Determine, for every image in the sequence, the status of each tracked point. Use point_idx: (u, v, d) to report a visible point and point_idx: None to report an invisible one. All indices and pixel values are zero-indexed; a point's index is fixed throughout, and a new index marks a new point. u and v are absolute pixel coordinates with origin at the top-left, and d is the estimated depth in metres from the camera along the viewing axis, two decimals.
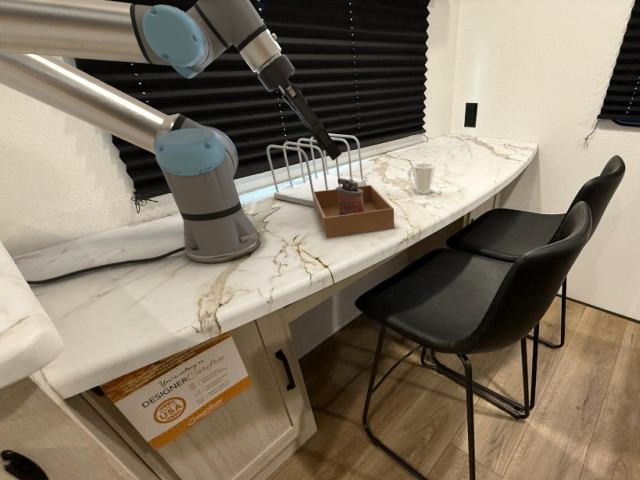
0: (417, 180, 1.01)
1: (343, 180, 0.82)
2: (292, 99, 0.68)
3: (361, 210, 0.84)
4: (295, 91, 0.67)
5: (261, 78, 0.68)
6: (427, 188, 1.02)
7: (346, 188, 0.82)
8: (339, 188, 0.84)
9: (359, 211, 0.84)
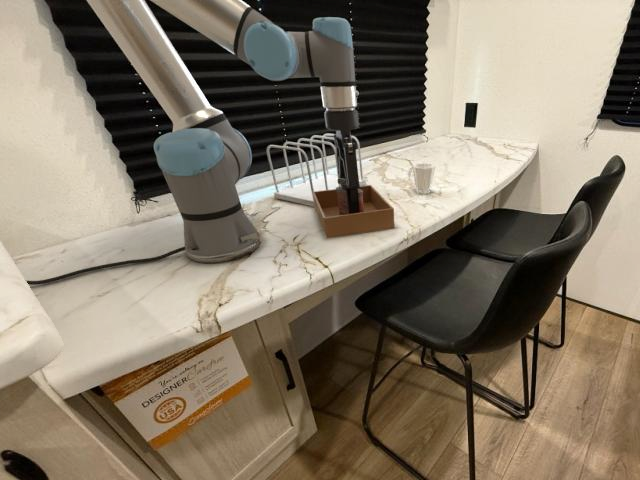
0: (417, 180, 1.01)
1: (343, 180, 0.82)
2: (347, 154, 0.72)
3: (361, 210, 0.84)
4: (353, 150, 0.72)
5: (328, 116, 0.71)
6: (427, 188, 1.02)
7: None
8: (339, 188, 0.84)
9: None
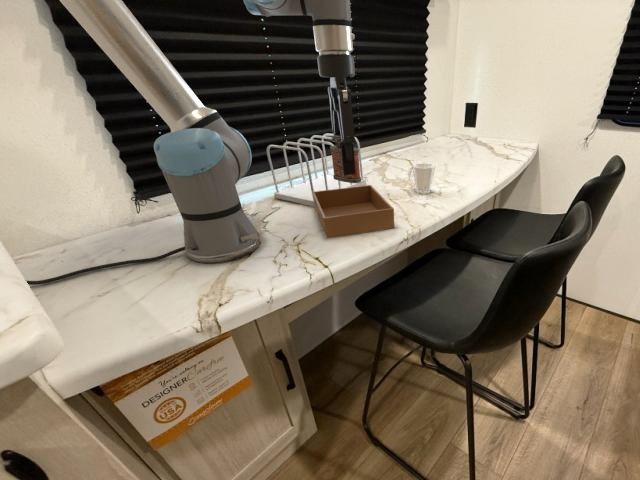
0: (417, 180, 1.01)
1: (338, 137, 0.76)
2: (341, 102, 0.67)
3: (357, 171, 0.78)
4: (348, 98, 0.67)
5: (321, 60, 0.65)
6: (427, 188, 1.02)
7: None
8: (333, 147, 0.78)
9: (355, 172, 0.78)
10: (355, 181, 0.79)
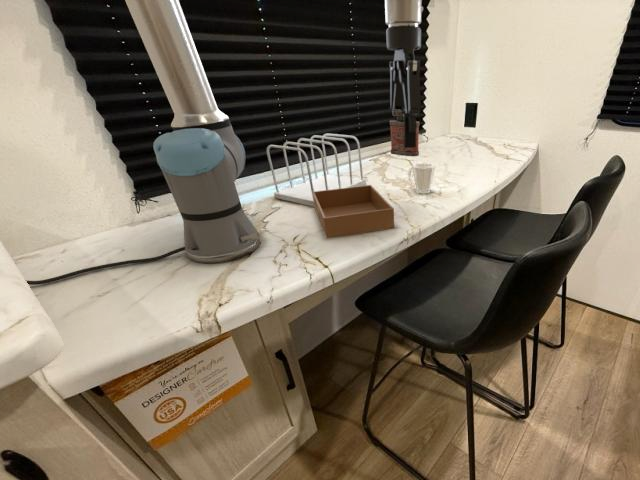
0: (417, 180, 1.01)
1: (399, 111, 0.78)
2: (411, 73, 0.69)
3: (416, 144, 0.80)
4: (417, 69, 0.68)
5: (391, 32, 0.67)
6: (427, 188, 1.02)
7: (402, 119, 0.79)
8: (393, 121, 0.80)
9: None
10: (414, 154, 0.81)
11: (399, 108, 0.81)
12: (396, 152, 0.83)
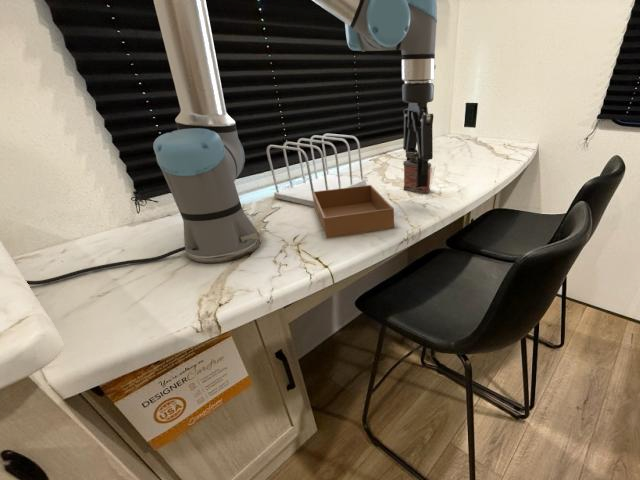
0: None
1: (412, 153, 0.85)
2: (424, 125, 0.76)
3: (428, 183, 0.87)
4: (430, 121, 0.75)
5: (407, 88, 0.74)
6: None
7: (414, 161, 0.86)
8: (407, 162, 0.87)
9: None
10: (425, 192, 0.88)
11: (412, 149, 0.88)
12: (409, 189, 0.90)
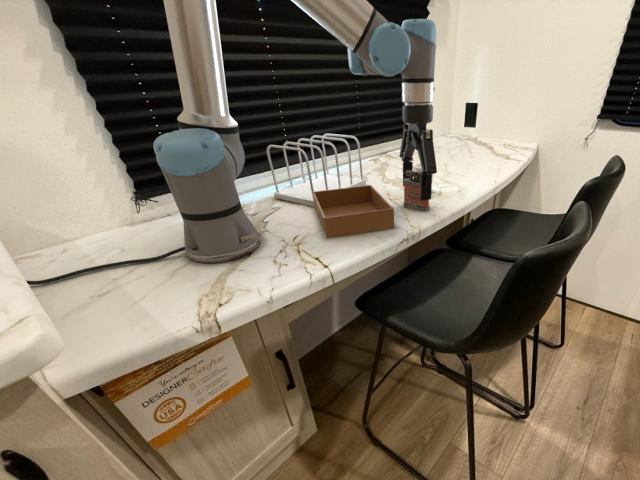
0: None
1: (412, 172, 0.88)
2: (425, 140, 0.77)
3: (427, 200, 0.90)
4: (430, 136, 0.77)
5: (407, 110, 0.77)
6: None
7: (414, 180, 0.88)
8: (407, 180, 0.90)
9: (425, 201, 0.90)
10: (425, 209, 0.91)
11: (408, 158, 0.92)
12: (409, 206, 0.93)
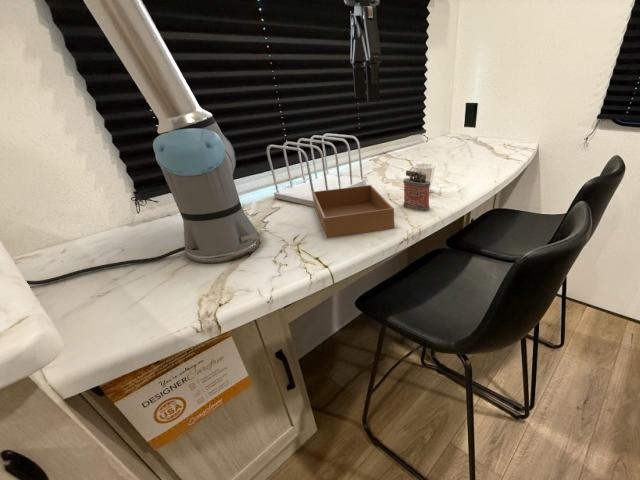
0: None
1: (412, 172, 0.88)
2: (367, 19, 0.66)
3: (427, 200, 0.90)
4: (374, 14, 0.66)
5: None
6: None
7: (414, 180, 0.88)
8: (407, 180, 0.90)
9: (425, 201, 0.90)
10: (425, 209, 0.91)
11: (359, 62, 0.81)
12: (409, 206, 0.93)
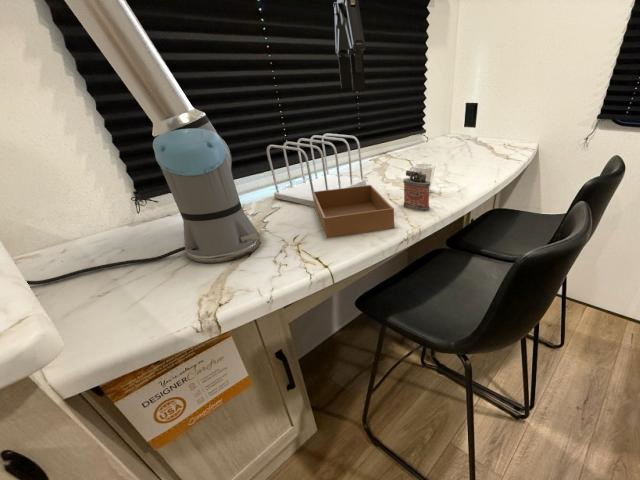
0: None
1: (412, 172, 0.88)
2: (349, 6, 0.65)
3: (427, 200, 0.90)
4: (356, 1, 0.65)
5: None
6: None
7: (414, 180, 0.88)
8: (407, 180, 0.90)
9: (425, 201, 0.90)
10: (425, 209, 0.91)
11: (344, 52, 0.80)
12: (409, 206, 0.93)
